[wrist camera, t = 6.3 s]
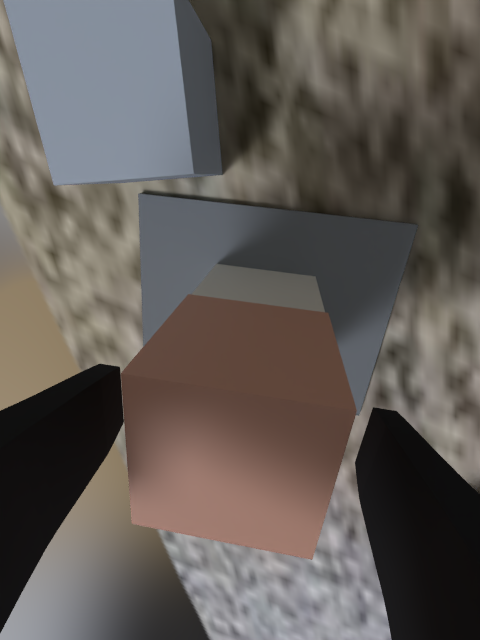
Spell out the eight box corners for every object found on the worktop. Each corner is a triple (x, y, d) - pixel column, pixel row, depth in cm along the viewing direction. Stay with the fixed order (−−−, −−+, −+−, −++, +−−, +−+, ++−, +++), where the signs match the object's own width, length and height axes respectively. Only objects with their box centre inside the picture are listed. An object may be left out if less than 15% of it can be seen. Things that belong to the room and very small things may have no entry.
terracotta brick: (328, 312, 10) (356, 410, 6) (303, 424, 12) (312, 559, 8) (188, 294, 11) (120, 373, 6) (185, 404, 13) (131, 523, 8)
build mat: (415, 224, 14) (418, 225, 13) (358, 412, 18) (359, 415, 18) (141, 193, 15) (138, 193, 14) (146, 378, 19) (144, 380, 19)
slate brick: (211, 40, 12) (169, -34, 8) (223, 174, 14) (193, 174, 10) (98, 57, 13) (2, -4, 9) (123, 182, 15) (53, 185, 10)
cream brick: (315, 276, 15) (326, 317, 10) (298, 362, 17) (302, 427, 12) (216, 263, 15) (187, 298, 11) (210, 349, 17) (184, 408, 13)
